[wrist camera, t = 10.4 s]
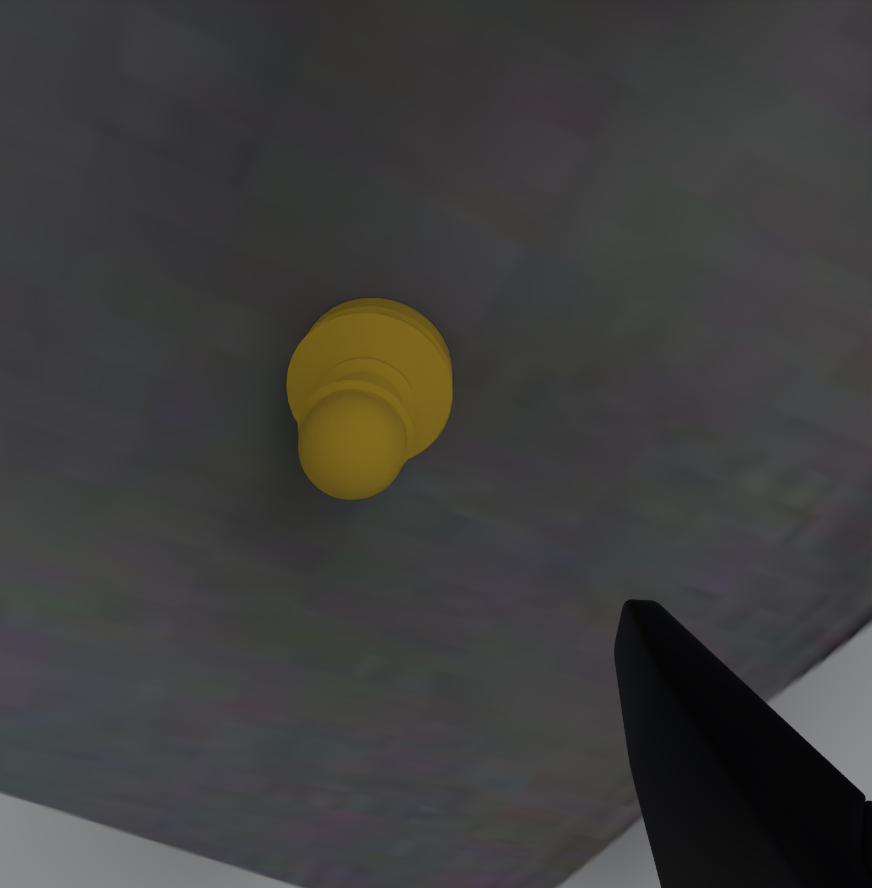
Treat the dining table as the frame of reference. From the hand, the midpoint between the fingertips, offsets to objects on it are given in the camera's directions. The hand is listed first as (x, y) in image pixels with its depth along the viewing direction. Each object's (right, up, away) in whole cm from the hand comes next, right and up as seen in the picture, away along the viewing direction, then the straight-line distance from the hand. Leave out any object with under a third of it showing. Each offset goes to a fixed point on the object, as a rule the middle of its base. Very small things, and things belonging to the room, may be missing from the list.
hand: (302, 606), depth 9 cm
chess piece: (0, +4, +8) cm, 9 cm away
